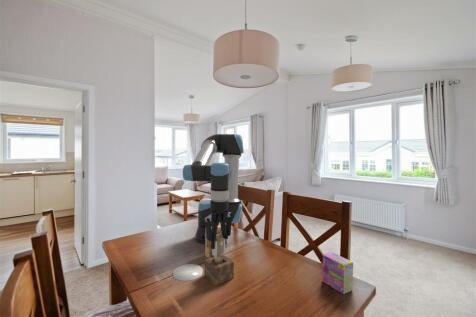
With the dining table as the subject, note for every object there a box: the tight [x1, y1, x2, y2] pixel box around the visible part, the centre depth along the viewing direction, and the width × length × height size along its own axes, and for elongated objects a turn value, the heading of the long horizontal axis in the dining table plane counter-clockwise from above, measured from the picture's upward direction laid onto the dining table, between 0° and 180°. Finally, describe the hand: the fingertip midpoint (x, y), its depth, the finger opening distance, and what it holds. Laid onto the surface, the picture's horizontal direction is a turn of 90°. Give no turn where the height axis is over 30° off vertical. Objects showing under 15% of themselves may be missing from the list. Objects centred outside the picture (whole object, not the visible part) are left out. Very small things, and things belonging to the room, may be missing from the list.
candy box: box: [204, 225, 222, 258], centre depth 115 cm, size 9×4×15 cm, turn 110°
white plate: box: [172, 263, 204, 282], centre depth 99 cm, size 13×13×1 cm
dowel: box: [214, 234, 224, 265], centre depth 95 cm, size 4×4×16 cm
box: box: [321, 251, 354, 295], centre depth 93 cm, size 10×6×12 cm, turn 29°
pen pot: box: [203, 254, 235, 287], centre depth 96 cm, size 9×9×8 cm
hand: (218, 254), depth 95 cm, fingers closed on dowel, 3 cm apart
